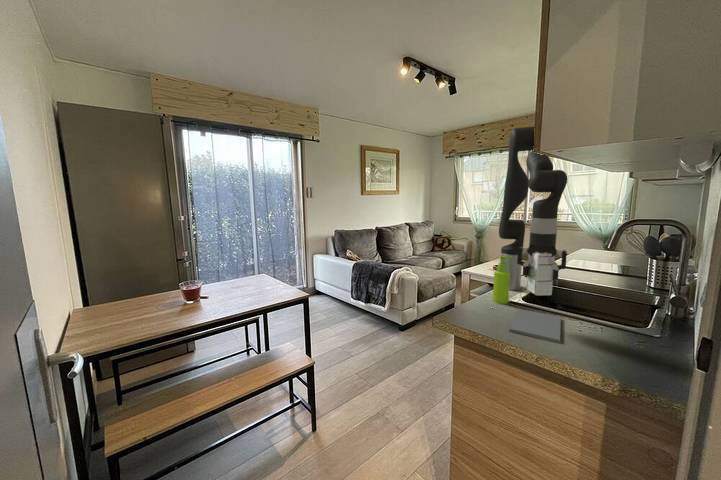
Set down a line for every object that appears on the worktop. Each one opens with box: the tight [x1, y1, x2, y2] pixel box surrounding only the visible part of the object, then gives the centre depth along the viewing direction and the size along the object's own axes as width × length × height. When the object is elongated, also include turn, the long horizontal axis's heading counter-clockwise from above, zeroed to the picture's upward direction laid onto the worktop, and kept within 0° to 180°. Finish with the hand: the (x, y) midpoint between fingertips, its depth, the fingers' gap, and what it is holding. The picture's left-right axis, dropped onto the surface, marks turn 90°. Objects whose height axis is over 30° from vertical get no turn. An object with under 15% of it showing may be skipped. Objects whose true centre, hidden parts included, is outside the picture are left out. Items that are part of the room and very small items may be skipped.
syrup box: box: [526, 253, 556, 296], centre depth 98 cm, size 6×6×14 cm
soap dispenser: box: [492, 255, 513, 305], centre depth 121 cm, size 6×7×20 cm
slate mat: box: [509, 308, 562, 344], centre depth 100 cm, size 20×14×1 cm
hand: (539, 278), depth 98 cm, fingers closed on syrup box, 7 cm apart
